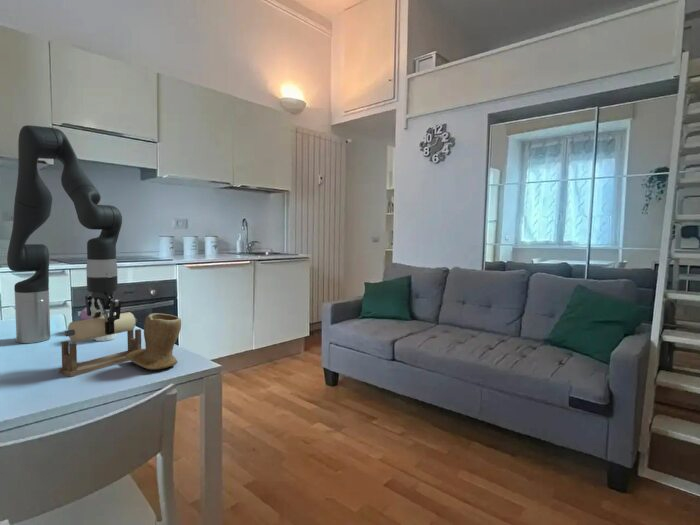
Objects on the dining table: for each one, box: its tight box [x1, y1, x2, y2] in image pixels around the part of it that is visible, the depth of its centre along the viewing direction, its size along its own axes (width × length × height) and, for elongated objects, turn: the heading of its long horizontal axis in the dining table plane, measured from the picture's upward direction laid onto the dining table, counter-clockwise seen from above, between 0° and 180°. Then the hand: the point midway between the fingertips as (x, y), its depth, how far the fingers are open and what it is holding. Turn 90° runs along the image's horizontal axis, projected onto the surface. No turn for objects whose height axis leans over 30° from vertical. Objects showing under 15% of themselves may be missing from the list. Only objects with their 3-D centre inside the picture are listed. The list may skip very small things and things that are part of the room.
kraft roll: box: [64, 311, 138, 343], centre depth 115 cm, size 6×20×6 cm, turn 152°
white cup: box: [93, 310, 117, 342], centre depth 142 cm, size 8×8×10 cm
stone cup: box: [126, 312, 182, 370], centre depth 117 cm, size 15×12×15 cm
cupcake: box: [79, 307, 91, 320], centre depth 152 cm, size 9×9×10 cm
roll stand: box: [58, 328, 142, 378], centre depth 116 cm, size 6×21×8 cm, turn 152°
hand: (103, 332), depth 115 cm, fingers closed on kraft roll, 5 cm apart
